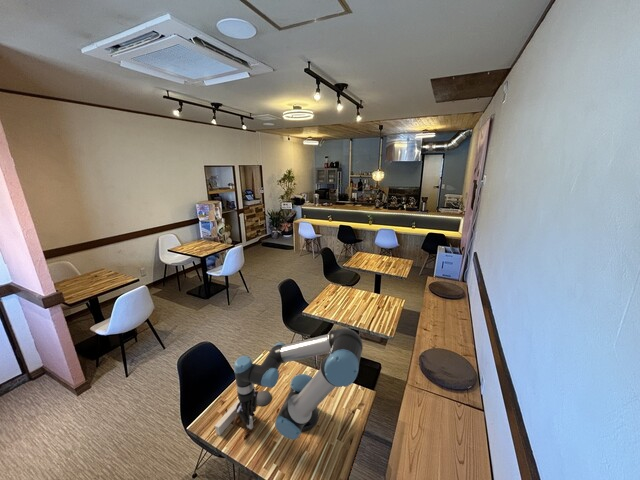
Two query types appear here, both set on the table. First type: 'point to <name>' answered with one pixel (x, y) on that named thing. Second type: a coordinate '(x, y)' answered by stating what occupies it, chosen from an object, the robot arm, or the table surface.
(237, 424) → the mug
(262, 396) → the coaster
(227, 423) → the board
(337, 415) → the table surface
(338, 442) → the table surface
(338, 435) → the table surface
